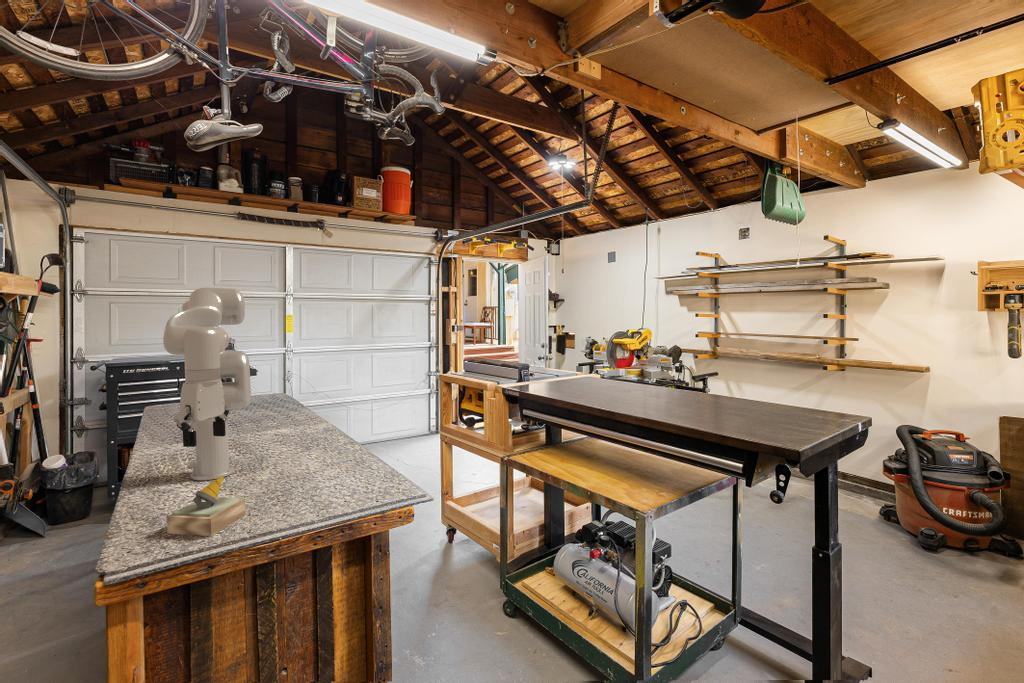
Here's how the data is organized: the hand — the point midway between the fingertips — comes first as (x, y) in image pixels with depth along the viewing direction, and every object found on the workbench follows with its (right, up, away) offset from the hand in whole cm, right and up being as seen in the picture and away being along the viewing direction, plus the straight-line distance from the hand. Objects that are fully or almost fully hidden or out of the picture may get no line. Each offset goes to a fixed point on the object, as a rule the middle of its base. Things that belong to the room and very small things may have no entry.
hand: (205, 441), depth 117 cm
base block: (0, -22, +1) cm, 22 cm away
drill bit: (0, -17, +1) cm, 17 cm away
